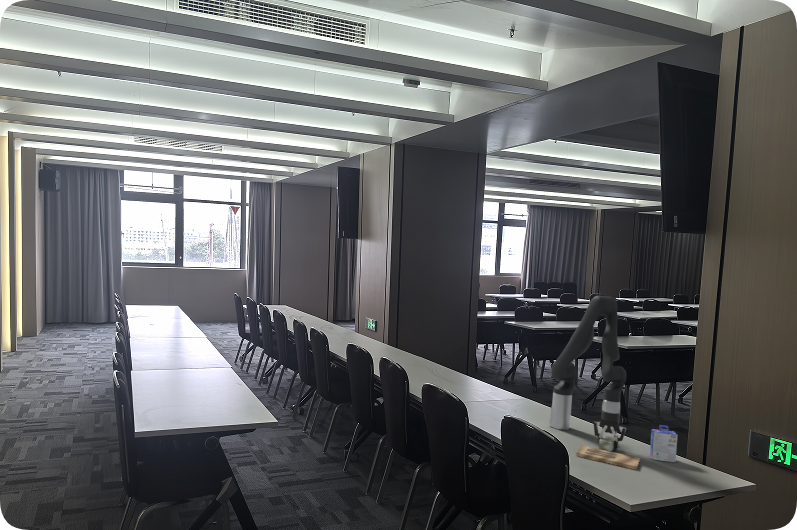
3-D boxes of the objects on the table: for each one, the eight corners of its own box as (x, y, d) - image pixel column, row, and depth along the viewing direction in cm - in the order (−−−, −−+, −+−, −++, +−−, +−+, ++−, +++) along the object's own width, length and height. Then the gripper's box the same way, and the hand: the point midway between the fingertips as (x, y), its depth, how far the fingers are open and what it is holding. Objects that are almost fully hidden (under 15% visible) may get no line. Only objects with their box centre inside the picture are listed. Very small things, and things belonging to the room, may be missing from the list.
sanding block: (598, 449, 246) (599, 439, 246) (605, 445, 253) (606, 435, 253) (609, 453, 243) (610, 442, 243) (616, 448, 250) (617, 438, 250)
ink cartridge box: (672, 458, 243) (675, 426, 242) (676, 463, 237) (679, 429, 237) (648, 455, 244) (651, 423, 244) (651, 459, 239) (654, 426, 239)
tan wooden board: (576, 455, 237) (576, 452, 236) (581, 448, 247) (582, 445, 247) (636, 470, 225) (636, 466, 225) (639, 461, 235) (640, 458, 235)
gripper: (629, 411, 248) (626, 449, 248) (595, 405, 255) (592, 441, 255) (626, 415, 241) (623, 453, 241) (592, 408, 248) (589, 446, 248)
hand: (607, 447), depth 248 cm, fingers closed on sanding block, 5 cm apart
